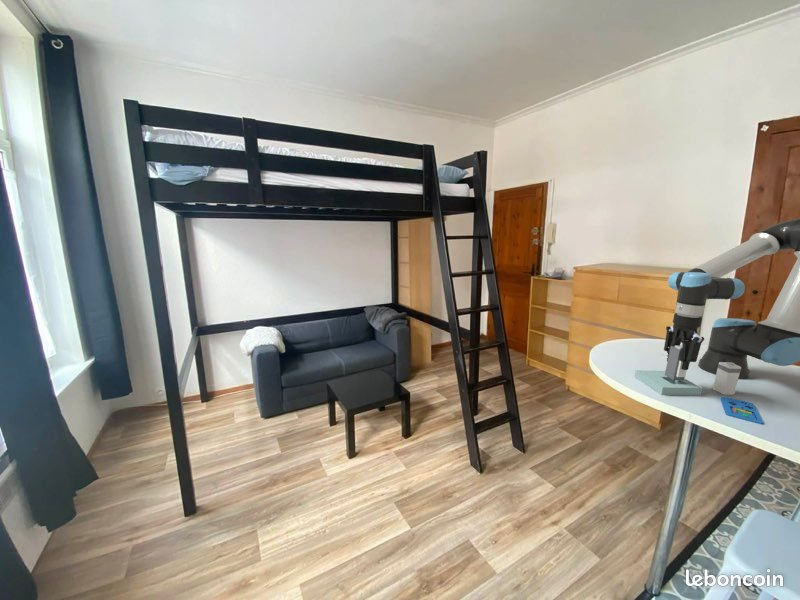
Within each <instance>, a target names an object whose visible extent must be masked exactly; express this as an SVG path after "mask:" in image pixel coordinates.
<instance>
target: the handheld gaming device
mask: <svg viewBox="0 0 800 600" xmlns="http://www.w3.org/2000/svg"><path fill="white" fill-rule="evenodd" d="M719 400H720V402H721V405H722V408H723V411H724V413H725V415H726V416H729V417H732V418H734V419H739V420H744V421H746V422H750V423H755V424H759V425H764V421H763V419H762V416H761V415H760V414H759V412H758V410H757V408H756V406H755V405H754V403H753V402H750V401H745V400H741V399H737V398H732V397H728V396H721V397H720V398H719Z"/></svg>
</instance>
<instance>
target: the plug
mask: <svg viewBox="0 0 800 600" xmlns="http://www.w3.org/2000/svg"><path fill="white" fill-rule="evenodd" d="M667 357H668V356H667ZM680 359H682V345H680V346H676V345H675V346H671V347H670V352H669V357H668V362H667V361H666V366H665V370H664V371H665V376H667V377H669V378H671V379H672V380H684V378H685V379H686V376H685V377H677V376H676V374H677V369H678V365H679V360H680Z"/></svg>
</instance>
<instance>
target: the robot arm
mask: <svg viewBox="0 0 800 600" xmlns="http://www.w3.org/2000/svg"><path fill="white" fill-rule="evenodd" d="M789 250H791V251H793V250H794V251H793V254H794V256H795V257H796V258H797V260H796V261H795V263H794V264H793V267H792V269H791V271H790V273H788V274H789V275H788V276H787V279H786V280H785V282H784V284H783V287H782V288H781V290H780V292H779V294H778V296H777V297H776V299H775V302H774V304H773V306H772V308H771V310H770V311H769V314H768V315H767V317H766V319H763V320H762V321H758V322H756V321H754V320H750V319H745V318H744V319H743V318H727V317H723V318H722V317H721V318H717V319H715V320H714V322H713V325H712V327H711V331H710V336H709V341H708V346H707V350H706V351H705V353H704V354H703V355H702V357H701V358H700V359H699V360H698V357H699V353H700V349H701V346H702V343H703V342H704V341H705V337H704V336H700V335H699V334H698V329H699V328H700V327H701V324H702V320H703V318H702V316H703V315H704V312H705V308H706V307H705V306H706V304H707V301H708V300H733V299H738V298H740V297H741V296H743V294H744V293H745V290H746V286H745V284H744V281H742V280H741V279H738V278H736V277H735V278H732V277H731V278H730V277H724V276H725V275H728V274H730V273H732V272H733V271H736V270H738V269H740V268H742V267H743V266H746V265H748V264H750V263H752V262H754V261H756V260H758V259H760V258H761V257H764V256H765V255H766V256H770V255H774V254H776V253H778V252H782V251H789ZM667 284H668V286H669V287H670V288H671V289H672V290H675V291H678V296H677V301H676V306H675V310H674V312H675V313H674V314H673V318H672V319H673V320H672V323H673V326H671V325H670V326H666V327H665V328H666V329H665V330H666V333H665V334H666V335H665V341H664V346H663V347H664V348H663V351H664V352H666V353H667V357H666V363H667V362H668V357H669V352H670V347H671V346H675V345H676V346H682V359H680V360H679V365H678V369H677V374H676V376H677V377H685V378H686V375H687V371H688V370H689V367H690V364H691V363H696V362H697V360H698V365H697V366H698V368H700V369H702V370H704V371H706V372H708V373H711V374H714V375H716V373H717V369H718V368H717V367H718V364H719V362H730V363H734V364H735V365H738V366H740V367H741V371H740V374H739V378H738V379H747V378H749V376H750V372H751V371H750V368H749V363H748V356H749V357H751V358H755V359H757V360H760V361H763V362H764V363H768V364H772V365H775V366H779V367H787V366H792V365H794V364H797V363H799V362H800V217H799V218H793V219H789V220H786V221H782V222H779V223H776V224H773V225H771V226H769V227H767V228H766V227H765V228H764V229H762V230H760V231H757V232H756V233H754V234H752V235H751V236H750V237H749V239H747V241H745V242H742V243H741V244H739V245H736V246H735V247H732V248H731V249H729V250H726V251H725V252H723V253H721V254H719V255H717V256H715V257H713V258H711V259H710V260H708V261H706V262H704V263H702V264H699V265H698V266H696V267H694V268H692V269H689V270H688V271H686V272H685V271H676V272H674V273H672V274H671V275H670V276H669V277H668V279H667ZM681 344H682V345H681Z"/></svg>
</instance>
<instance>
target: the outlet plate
mask: <svg viewBox="0 0 800 600" xmlns="http://www.w3.org/2000/svg"><path fill="white" fill-rule="evenodd" d="M665 371H666V370H644V369H643V370H640V369H639V370H635V372H634V378H635V379H637V380H639V381H640V382H641V383H643V384H644V385H645V386H647V387H649V388H650V389H652V390H653V391H655V392H656V393H658V394H660V395H661V396H701V394H702V389H703V387H701V386H700V385H697V383H696V384H695V383H694V382H692V381H690V380H688V379H686V377H685V378H684V380H672V379H671V378H669V377H667V376H665Z"/></svg>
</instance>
